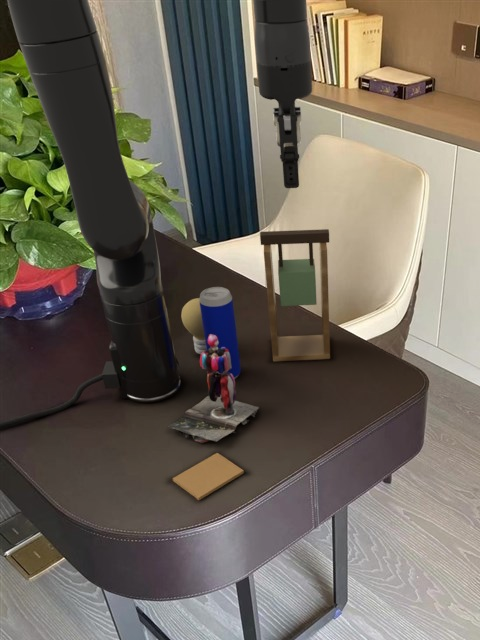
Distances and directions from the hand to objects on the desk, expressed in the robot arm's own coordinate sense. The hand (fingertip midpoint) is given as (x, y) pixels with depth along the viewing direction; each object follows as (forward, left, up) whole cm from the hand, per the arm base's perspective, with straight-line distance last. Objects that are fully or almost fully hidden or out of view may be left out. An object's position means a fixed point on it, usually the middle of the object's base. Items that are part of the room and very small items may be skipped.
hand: (291, 177), depth 110 cm
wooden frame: (0, 0, -30) cm, 30 cm away
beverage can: (-13, -7, -30) cm, 34 cm away
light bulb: (-17, +1, -30) cm, 35 cm away
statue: (-14, -21, -30) cm, 39 cm away
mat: (-14, -34, -30) cm, 47 cm away
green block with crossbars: (0, 0, -20) cm, 20 cm away
